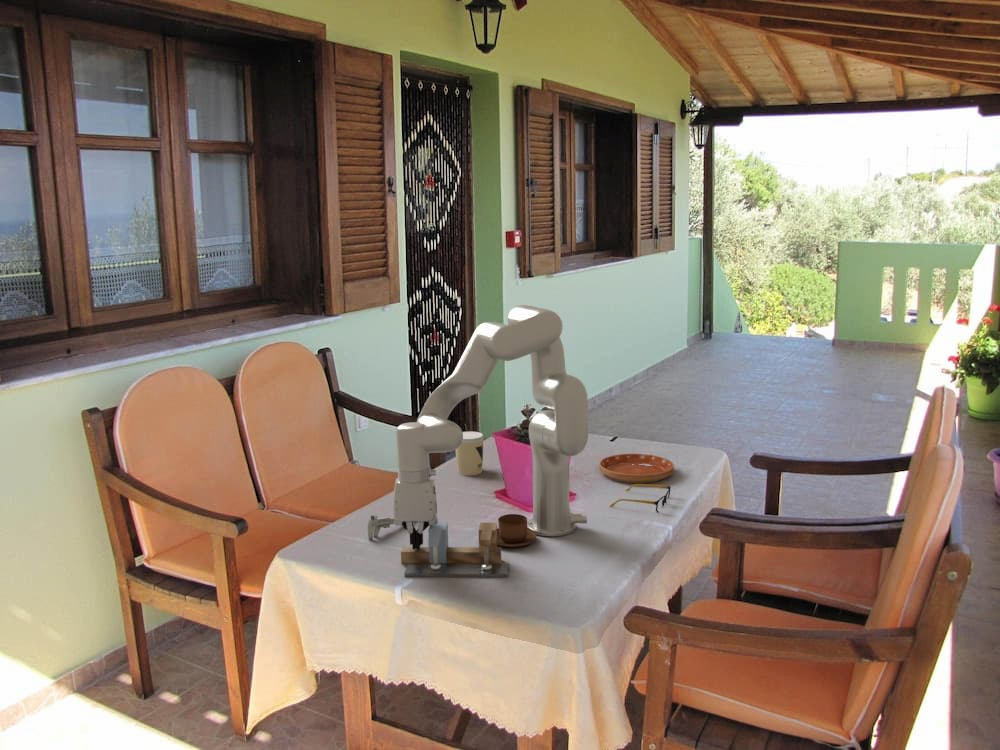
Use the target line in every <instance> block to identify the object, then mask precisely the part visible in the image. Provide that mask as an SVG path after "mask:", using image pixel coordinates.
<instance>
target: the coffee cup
mask: <svg viewBox="0 0 1000 750" xmlns="http://www.w3.org/2000/svg"><path fill="white" fill-rule="evenodd" d="M462 432H463V441H462V443H461V445H460V446H459V447H458V448H457V449H455V450H454V451H455V459H456V468H457V473H458V474H459V475H460V476H461V475H462V476H469V477H470V476H477V475H480V474H481V473H482V471H483V457H484V440H485V437H484V435H483V433H481V432H480V431H479V432H478V431H462Z"/></svg>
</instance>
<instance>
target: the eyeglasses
mask: <svg viewBox="0 0 1000 750" xmlns="http://www.w3.org/2000/svg"><path fill="white" fill-rule="evenodd" d="M636 486H637V487H638V486H640V487H650V488H660V489H664V490H665V489H666V490H667V491H666V493H665V495H663V496H661V497H660V498H659V499H658V500H656V501H653V500H643V499H629V498H620V499H618V500H616V501H614V502H613V503H612V504H610V505H609V508H613V507H614V506H615V505H616V504H617V503H619V502H623V501H626V502H635V503H641V504H642V503H643V504H648V505H654V506H655V512H656V511H657V512H656V513H658V512H659V510H658V509H659V507H658V506H659V502H660V501H661V500H662V501H661V505H662V506H665V503H666V504H667V500H668V498H669V499H670V494H671V485H670V486H669V485H659V484H648V483H634V484H632V485H631V486H629V487H628V488H627V489H625V490H624V492H625V491H628V492H629V491H630V490H631V489H632V488H634V487H636ZM662 506H661V507H662Z"/></svg>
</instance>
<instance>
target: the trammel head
mask: <svg viewBox="0 0 1000 750" xmlns="http://www.w3.org/2000/svg"><path fill="white" fill-rule="evenodd" d="M428 527H429V528H428V531H427V532H428V539H427V541H428V543H427V545H428V547H429V560H430V563H434V564H437V563H447V562H446V550H447V547H449V529H448V528H449V524H448V522H444V521H443V522H440V521H438V523H437V524H436V525H432V526H428Z"/></svg>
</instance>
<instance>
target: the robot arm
mask: <svg viewBox="0 0 1000 750" xmlns="http://www.w3.org/2000/svg"><path fill="white" fill-rule="evenodd" d="M563 327H564V326H563V320H562V318H561V317H560V315H558V314H557V313H556V312H555V311H553V310H550V309H548V308H547V309H546V308H541V307H538V306H533V305H526V304H521V305H516V306H514V307H513V308H511V309H510V311H509V312H508V315H507V324H505V323H501V322H498V321H497V322H496V321H484V322H482V323H479V325H478V326H477V327H476V328H475V330H474V332H473V333H472V336H471V338H470V339H469V341H468V343H467V345H466V347H465V349H464V351H463V352H462V355H461V357H460V358H459V361H458V362H457V364H456V366H455V368H454V370H453V372H452V373H451V374H450V375H449V376H448V377H447V378H446V379H445V380H444V381H442V383H440V385H438V386H437V387H435V389H434V391H432V393H430V395H429V396H428V398H427V400H426V401H425V403H424V405H423V407H422V409H421V411H420V413H419V415H418V417H417V419H416V421H415V422H411V421H410V422H404V423H401V424H399V425H398V426H397V428H396V430H395V431H396V432H395V433H396V434H395V435H396V437H395V438H396V456H397V458H396V459H397V478H395V483H394V489H393V517H394V521H393V523H394V524H393V525H395V526H402V527H403V528H404V529H405V530H406V531H407V533H408V534H409V545H412V546H411V547H413V549H420V547H422V546H421V545H424V533H423V532H424V531H425V530H426V529H427V528H428V527H430V526H432V525H436V524H437V523H438V522H439V519H438V516H437V514H438V503H437V502H438V501H437V499H438V498H437V490H436V484H435V481H434V480H435V479H434V478H433V476H437V471H436V469H432V468H431V466H430V454H431V453H432V454H433V453H438V454H439V453H450V452H453V451H456V450H455V449H457V448H458V447H459V446H460V445H461V443H462V441H463V432H464V431H462V428H461V427H460V426H459V425H458V424H457V423H455V422H454V421H451V420H449V419H448V418H449V416H450V414H451V413H452V411H453V409H454V408H455V407H456V406H457V405H459V403H460V402H461V401H463V400H465V399H466V398H469V397H471V396H474V395H476V394H479V393H481V392H482V391H484V389H485V388H486V387H487V384H488V382H489V380H490V378H491V376H492V374H493V373H494V370H495V368H496V367H497V364H498V363H499V361H500V360H501V361H503V362H504V361H505V362H511V361H515V360H519V359H521V358H523V357H526V356H528V355H530V362H531V386H532V387H531V388H532V397H533V399H534V401H535V402H536V403H537V404H539V405H541V406H542V407H545V408H547V409H548V410H547V409H544V410H540V411H538V412H537V413H535V414H534V415H533V416H532V418H531V419H530V421H529V425H528V438H529V443H530V449H531V454H532V455H531V457H532V517H533V518H532V519H529V521H527V528H529V529H532V530H533V531H535V532H536V534H537V536H542V537H561V536H566V535H569V534H571V533H572V532H575V529H576V524H578V523H579V524H587V523H588V522H587V521H588V517H587V515H583V513H573V512H571V511H572V510H571V507H570V459H569V457H575V456H577V455H579V454H580V453H582V452H583V450H584V449H585V447H586V445H587V443H588V439H589V400H588V399H589V398H588V393H587V389H586V387H585V385H584V383H583V382H582V380H580V379H579V378H577V377H576V376H573V375H570V374H567V369H566V361H565V360H566V359H565V349H564V345H563V343H562V340H561V334H562V333H563ZM414 522H417V523H418V525H417V528H416V527H415V524H414Z"/></svg>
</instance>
